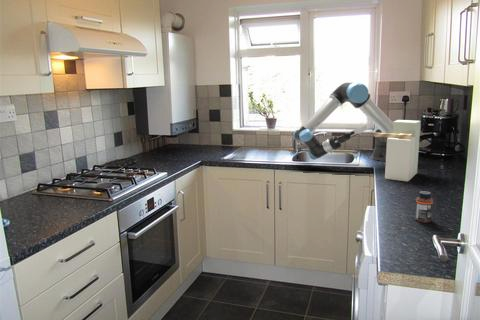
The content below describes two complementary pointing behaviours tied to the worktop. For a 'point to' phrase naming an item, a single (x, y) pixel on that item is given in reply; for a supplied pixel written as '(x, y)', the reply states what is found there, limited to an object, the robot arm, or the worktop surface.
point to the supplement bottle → (424, 207)
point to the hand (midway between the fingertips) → (363, 128)
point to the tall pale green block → (403, 151)
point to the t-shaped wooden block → (394, 135)
